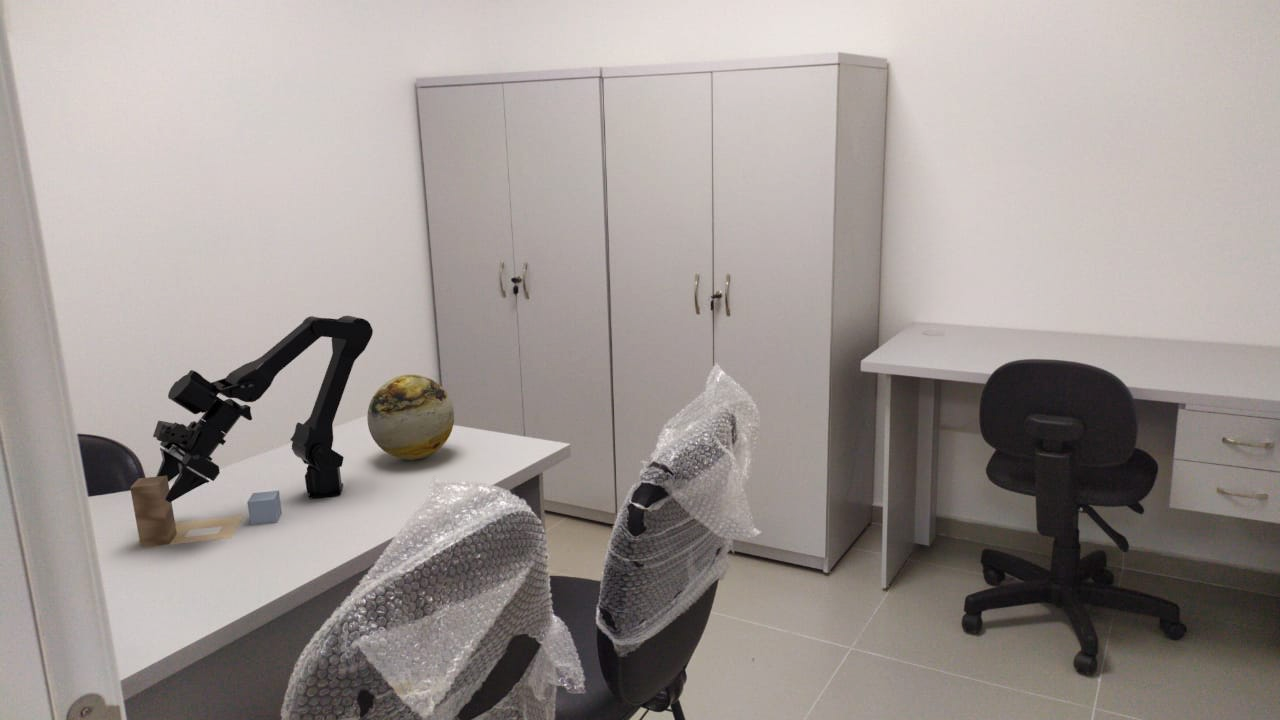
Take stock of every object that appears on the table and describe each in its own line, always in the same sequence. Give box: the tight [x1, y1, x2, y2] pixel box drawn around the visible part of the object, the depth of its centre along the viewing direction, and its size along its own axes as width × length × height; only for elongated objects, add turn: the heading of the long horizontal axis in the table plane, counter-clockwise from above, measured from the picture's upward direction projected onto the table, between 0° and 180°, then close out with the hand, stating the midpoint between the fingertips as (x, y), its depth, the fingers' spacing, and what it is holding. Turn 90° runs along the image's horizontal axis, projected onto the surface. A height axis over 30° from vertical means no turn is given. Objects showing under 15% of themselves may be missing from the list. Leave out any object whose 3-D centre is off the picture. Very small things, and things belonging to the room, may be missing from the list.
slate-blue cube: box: [246, 490, 283, 526], centre depth 184 cm, size 5×5×5 cm
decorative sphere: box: [367, 374, 455, 461], centre depth 216 cm, size 20×20×20 cm
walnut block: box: [130, 476, 177, 548], centre depth 175 cm, size 5×5×12 cm
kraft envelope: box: [149, 515, 244, 548], centre depth 180 cm, size 16×11×1 cm
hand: (160, 494), depth 175 cm, fingers open, 9 cm apart
